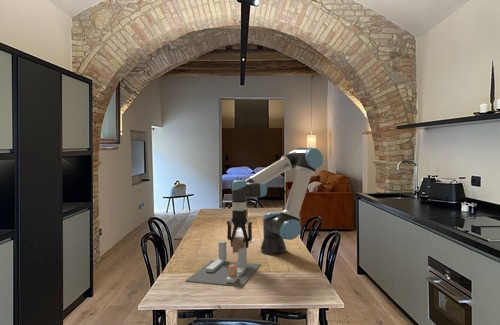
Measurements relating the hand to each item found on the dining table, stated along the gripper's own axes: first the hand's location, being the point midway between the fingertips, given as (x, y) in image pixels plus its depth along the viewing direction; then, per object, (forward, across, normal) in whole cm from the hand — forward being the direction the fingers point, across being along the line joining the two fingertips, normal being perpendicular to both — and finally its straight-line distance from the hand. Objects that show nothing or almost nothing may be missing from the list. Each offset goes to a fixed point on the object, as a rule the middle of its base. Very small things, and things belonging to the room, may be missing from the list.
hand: (239, 253), depth 196 cm
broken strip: (+6, +4, -17) cm, 18 cm away
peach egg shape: (+4, +4, -23) cm, 24 cm away
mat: (+6, -3, -13) cm, 15 cm away
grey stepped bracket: (+6, -11, -5) cm, 14 cm away
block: (-1, 0, 0) cm, 1 cm away
